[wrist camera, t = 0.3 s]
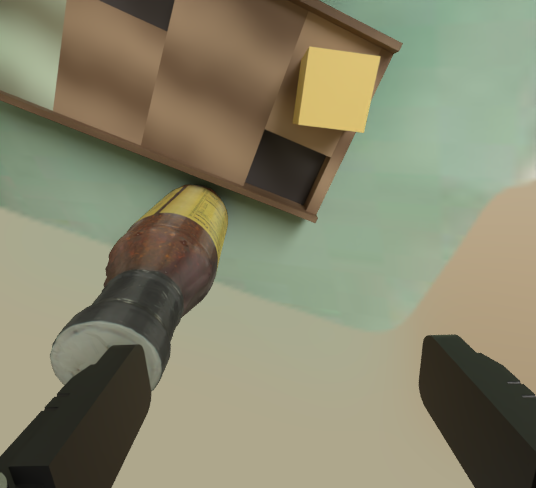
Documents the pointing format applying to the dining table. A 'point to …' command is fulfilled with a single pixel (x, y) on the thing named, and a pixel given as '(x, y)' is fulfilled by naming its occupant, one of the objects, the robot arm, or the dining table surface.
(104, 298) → the sauce bottle
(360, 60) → the mustard block
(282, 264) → the dining table surface
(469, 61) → the dining table surface
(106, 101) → the trap deck
